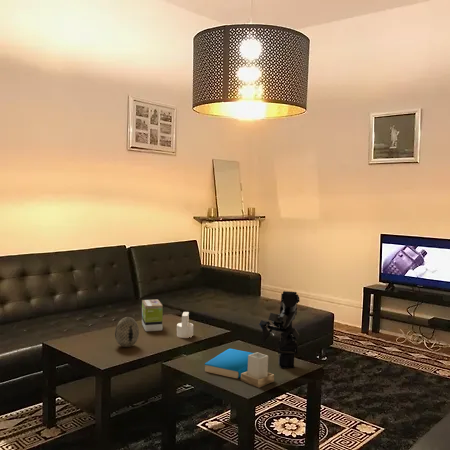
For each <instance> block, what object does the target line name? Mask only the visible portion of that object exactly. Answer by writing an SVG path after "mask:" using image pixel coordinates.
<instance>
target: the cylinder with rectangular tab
mask: <svg viewBox="0 0 450 450" xmlns="http://www.w3.org/2000/svg"><path fill="white" fill-rule="evenodd" d="M189 315H190V312H189V311H183V312H182V314H181V322H178V323H177V324H176V337H177V338H180V339H188V338H189V337H190V338H192V336H194V324H193V323H191V322H189V321H190V317H189ZM190 338H189V339H190Z"/></svg>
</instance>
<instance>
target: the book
mask: <svg viewBox="0 0 450 450" xmlns="http://www.w3.org/2000/svg"><path fill="white" fill-rule="evenodd" d="M254 353H255V352H251V351H245V350H239V349H235V348H228V349H226V350H223V351H222V352H221V353H219V354H218V355H216V356H215V357H213V358H211V359H209V360H208V361H206V362H205V363H204V372H206V373H211V374H215V375H218V376H219V375H220V376H224V377H229V378H233V379H241V373H244V372H247V371H248V355H251V354H254Z"/></svg>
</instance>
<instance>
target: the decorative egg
mask: <svg viewBox="0 0 450 450" xmlns="http://www.w3.org/2000/svg"><path fill="white" fill-rule="evenodd" d="M114 331H115V332H114V338H115V341H116V342H117V344H118V345H119V346H121V347H123V348H130V347H132V346H134V345H135V344H136V343H137V341H138V339H139V335H140V328H139V325H138V322H137V321H136V320H135V319H134V318H133V317H130V316H125V317H123V318H121V319H120V320H119V321H118V323H117V325H116V327H115V330H114Z"/></svg>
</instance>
